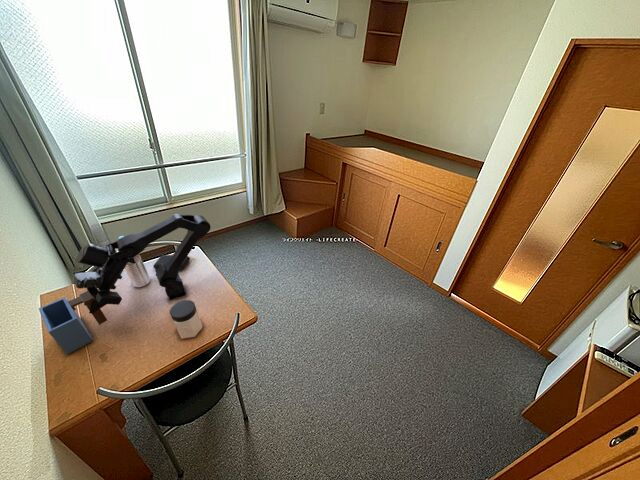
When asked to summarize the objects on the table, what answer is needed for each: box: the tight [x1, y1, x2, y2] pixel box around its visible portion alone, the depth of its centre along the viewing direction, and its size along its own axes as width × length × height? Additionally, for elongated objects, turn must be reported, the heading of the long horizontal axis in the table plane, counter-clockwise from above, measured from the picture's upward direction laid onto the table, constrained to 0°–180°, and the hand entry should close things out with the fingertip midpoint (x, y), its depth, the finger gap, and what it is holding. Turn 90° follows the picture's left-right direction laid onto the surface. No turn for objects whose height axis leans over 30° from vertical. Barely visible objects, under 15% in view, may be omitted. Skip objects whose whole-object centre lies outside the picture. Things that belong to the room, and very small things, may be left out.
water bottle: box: [115, 235, 151, 288], centre depth 108 cm, size 7×7×25 cm
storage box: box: [38, 296, 94, 355], centre depth 88 cm, size 7×14×12 cm, turn 51°
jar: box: [169, 299, 203, 340], centre depth 93 cm, size 9×8×12 cm
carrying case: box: [152, 254, 191, 271], centre depth 125 cm, size 11×3×15 cm
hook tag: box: [68, 290, 108, 326], centre depth 88 cm, size 6×5×12 cm
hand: (88, 309), depth 88 cm, fingers closed on hook tag, 5 cm apart
